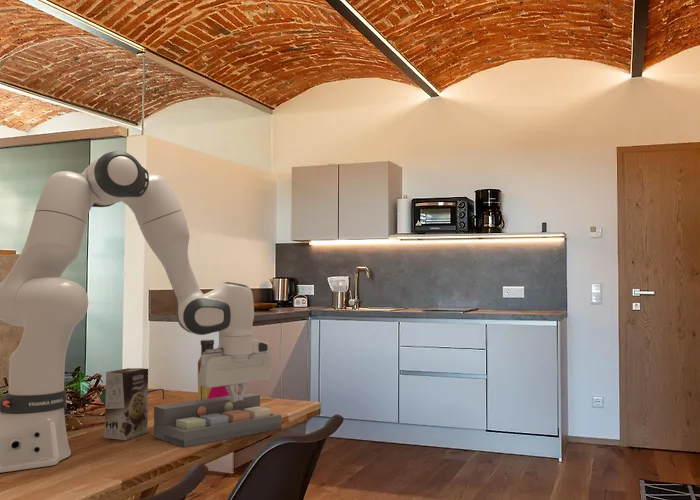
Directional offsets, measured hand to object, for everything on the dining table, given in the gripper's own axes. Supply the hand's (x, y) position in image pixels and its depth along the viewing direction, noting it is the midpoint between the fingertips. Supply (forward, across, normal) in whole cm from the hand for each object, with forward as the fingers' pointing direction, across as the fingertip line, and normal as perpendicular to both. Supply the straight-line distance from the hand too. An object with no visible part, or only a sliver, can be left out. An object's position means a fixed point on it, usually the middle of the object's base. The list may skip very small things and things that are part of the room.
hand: (236, 401), depth 176 cm
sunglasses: (+8, +2, +58) cm, 59 cm away
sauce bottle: (+8, +16, +37) cm, 41 cm away
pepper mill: (+8, +8, +20) cm, 23 cm away
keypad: (+8, -4, +2) cm, 9 cm away
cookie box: (+8, -22, +16) cm, 28 cm away
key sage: (+4, -13, 0) cm, 14 cm away
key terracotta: (+5, 0, 0) cm, 5 cm away
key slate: (+5, -7, 0) cm, 8 cm away
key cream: (+5, +6, 0) cm, 8 cm away
